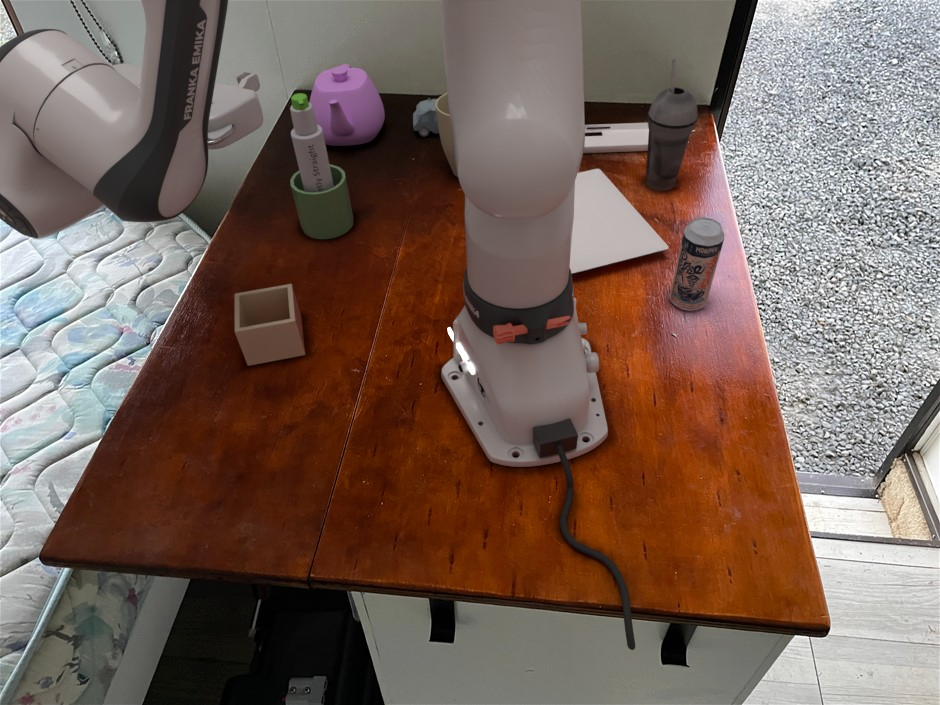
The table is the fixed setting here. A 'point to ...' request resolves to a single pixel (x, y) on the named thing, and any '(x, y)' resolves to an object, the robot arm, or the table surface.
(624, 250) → the plate
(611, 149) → the phone case
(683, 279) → the beer can
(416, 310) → the table surface
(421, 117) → the toy car
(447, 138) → the mug
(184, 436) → the table surface
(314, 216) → the green cup
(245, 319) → the ivory holder
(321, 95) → the teapot
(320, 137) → the bottle
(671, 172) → the beverage cup
